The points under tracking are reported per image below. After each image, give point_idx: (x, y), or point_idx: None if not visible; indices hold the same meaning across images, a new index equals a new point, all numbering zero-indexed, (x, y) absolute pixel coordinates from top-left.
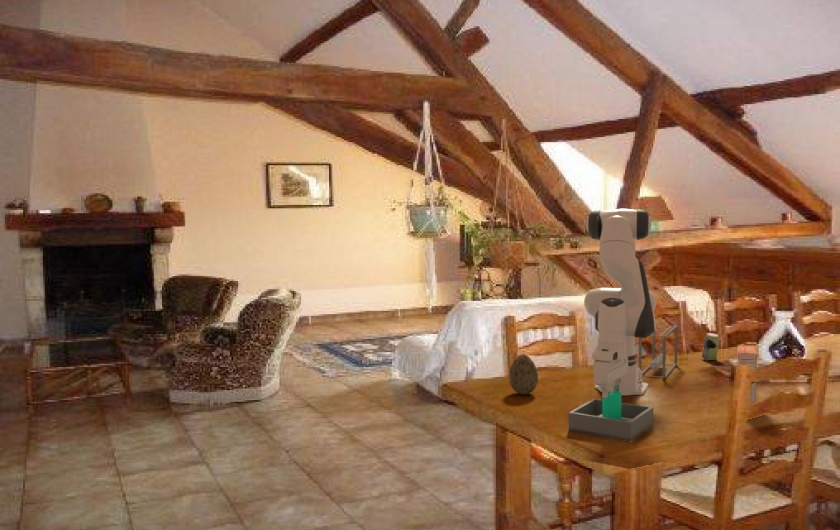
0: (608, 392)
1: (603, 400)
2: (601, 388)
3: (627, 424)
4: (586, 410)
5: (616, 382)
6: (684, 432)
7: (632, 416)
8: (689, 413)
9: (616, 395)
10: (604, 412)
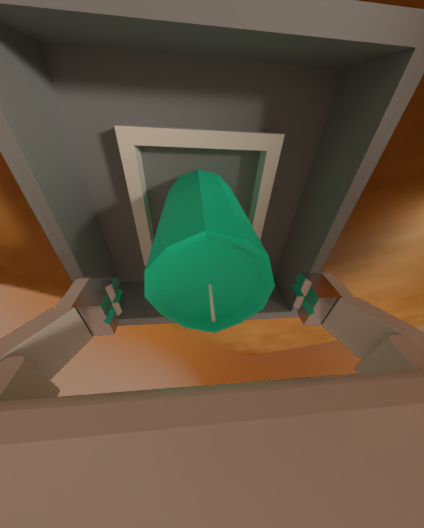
0: (91, 333)
1: (162, 232)
2: (2, 342)
3: None
4: (239, 43)
5: (355, 320)
6: (251, 326)
7: (291, 246)
8: (391, 301)
9: (177, 319)
10: (162, 212)
